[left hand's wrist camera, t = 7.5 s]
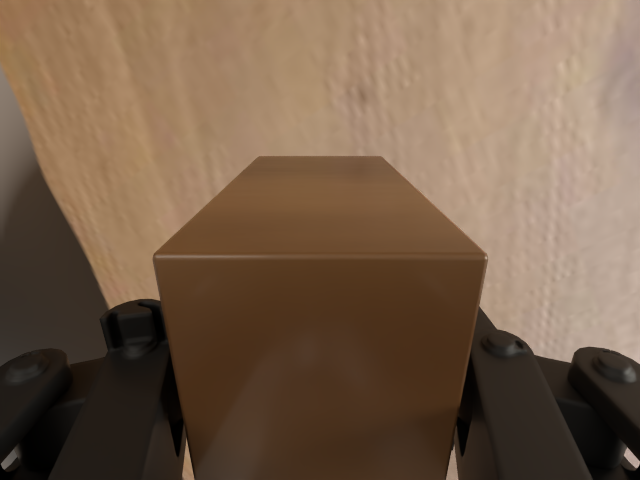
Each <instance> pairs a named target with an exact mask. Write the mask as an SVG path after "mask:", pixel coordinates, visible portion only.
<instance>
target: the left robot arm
mask: <svg viewBox="0 0 640 480" xmlns="http://www.w3.org/2000/svg"><path fill="white" fill-rule="evenodd" d="M100 322H101V326H102V330H103V334H104V337H105V341H106V345H107V348H108V352H107V354H106V356H105V357H103V358H99V359H95V360H90V361H85V362H80V363H75V364H69V361H68V358H67V355H66V353H64V352H63V351H62V350H59V349H52V348H50V349H41V350H35V351H32V352H28V353H25V354H22V355H20V356H18V357H16V358H14V359H12V360H10V361H8V362H7V363H5V364H4V365H2V366H1V367H0V480H182V471H183V463H184V454H185V446H186V432H185V426H184V421H183V416H182V411H181V406H180V400H179V395H178V390H177V385H176V379H175V374H174V369H173V364H172V358H171V353H170V348H169V343H168V337H167V332H166V327H165V322H164V316H163V311H162V306H161V301H158V300H154V299H139V300H134V301H129V302H126V303H123V304H120V305H118V306H115V307H114V308H112V309H110V310H109V311H107V312H106V313H105V314H104V315H103V316H102V317H101V318H100ZM454 445H455V454H456V462H457V471H458V479H459V480H640V465H639V467H638V468H635V467H634V466H633V465H632V464H631V463H630V462H629V461H628V460H627V459H626V458H625V457H624V453H625V451H626V449H627V447H628V448H629V449H630V451H631V452H632V453H633V454H634V455H635V456H636V457H637V459H638V460H639V461H640V364H638V363H637V362H635V361H634V360H632V359H630V358H628V357H626V356H624V355H622V354H620V353H618V352H615V351H612V350H611V351H610V350H609V349H604V348H596V347H585V348H580V349H578V350H577V351H576V352H574V355H573V359H572V362H571V363H568V362H563V361H558V360H553V359H548V358H544V357H540V356H536V355H534V354H533V351H532V350H531V348H530V347H529V346H528V345H527V343H526V342H524V341H523V340H521V339H520V338H519V337H517V336H515V335H513V334H510V333H508V332H506V331H502V330H498V329H496V327H495V326H494V325H493V324H492V322H491V321H490V320H489V318H488V317H487V316H486V314H485V313H484V312H483V311H482V309H481V308H480V307H479V309H478V314H477V319H476V325H475V330H474V335H473V340H472V346H471V351H470V356H469V361H468V366H467V372H466V377H465V382H464V387H463V392H462V398H461V403H460V408H459V413H458V419H457V424H456V429H455V434H454V439H453V445H452V450H453V447H454ZM13 449H14V450H15V452H16V454H17V458H16V459H15V460H14V461H13V463H12V464H11V465H10V466H9V467H7V468H6V469H5V470H4V469H3V468H2V466H1V463H2V462H3V460H4V459H5V458H6V457H7V456H8V455H9V454H10V452H11V451H12V450H13Z"/></svg>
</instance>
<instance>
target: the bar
mask: <svg viewBox="0 0 640 480" xmlns="http://www.w3.org/2000/svg"><path fill="white" fill-rule="evenodd" d="M487 262H488V257H487V254H486V253H485V252H484V251H483V250H482V249H481V248H480V247H479V246H478V245H477V244H476V243H475V242H473V241H472V240H471V239H470V238H469V237H468V236H467V235H466V234H465V233H464V232H463V231H462V230H460V229H459V228H458V227H457V226H456V225H455V224H454V223H453V222H452V221H451V220H450V219H449V218H447V217H446V216H445V215H444V214H443V213H442V212H441V211H440V210H439V209H438V208H437V207H436V206H435V205H433V204H432V203H431V202H430V201H429V200H428V199H427V198H426V197H425V196H424V195H423V194H422V193H420V192H419V191H418V190H417V189H416V188H415V187H414V186H413V185H412V184H411V183H410V182H409V181H408V180H406V179H405V178H404V177H403V176H402V175H401V174H400V173H399V172H398V171H397V170H396V169H395V168H393V167H392V166H391V165H390V164H389V163H388V162H387V161H386V160H385V159H384V158H383V157H381V156H259V157H258V158H256V159H255V160H254V161H253V162H252V163H251V164H250V165H249V166H248V167H247V168H246V169H245V170H244V171H242V172H241V173H240V174H239V175H238V176H237V177H236V178H235V179H234V180H233V181H232V182H231V183H230V184H228V185H227V186H226V187H225V188H224V189H223V190H222V191H221V192H220V193H219V194H218V195H217V196H216V197H214V198H213V199H212V200H211V201H210V202H209V203H208V204H207V205H206V206H205V207H204V208H203V209H202V210H200V211H199V212H198V213H197V214H196V215H195V216H194V217H193V218H192V219H191V220H190V221H189V222H188V223H187V224H185V225H184V226H183V227H182V228H181V229H180V230H179V231H178V232H177V233H176V234H175V235H174V236H173V237H171V238H170V239H169V240H168V241H167V242H166V243H165V244H164V245H163V246H162V247H161V248H160V249H159V250H157V251H156V252H155V253H154V255H153V264H154V269H155V274H156V280H157V285H158V290H159V295H160V301H161V306H162V311H163V316H164V322H165V327H166V332H167V337H168V343H169V348H170V353H171V358H172V364H173V369H174V374H175V379H176V385H177V390H178V395H179V400H180V406H181V411H182V416H183V421H184V426H185V432H186V437H187V442H188V447H189V453H190V458H191V463H192V468H193V474H194V479H195V480H446V476H447V471H448V466H449V460H450V455H451V450H452V445H453V439H454V434H455V429H456V424H457V419H458V413H459V408H460V403H461V398H462V392H463V387H464V382H465V377H466V372H467V366H468V361H469V356H470V351H471V346H472V340H473V335H474V330H475V325H476V319H477V314H478V309H479V304H480V299H481V293H482V288H483V283H484V278H485V272H486V267H487Z"/></svg>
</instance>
